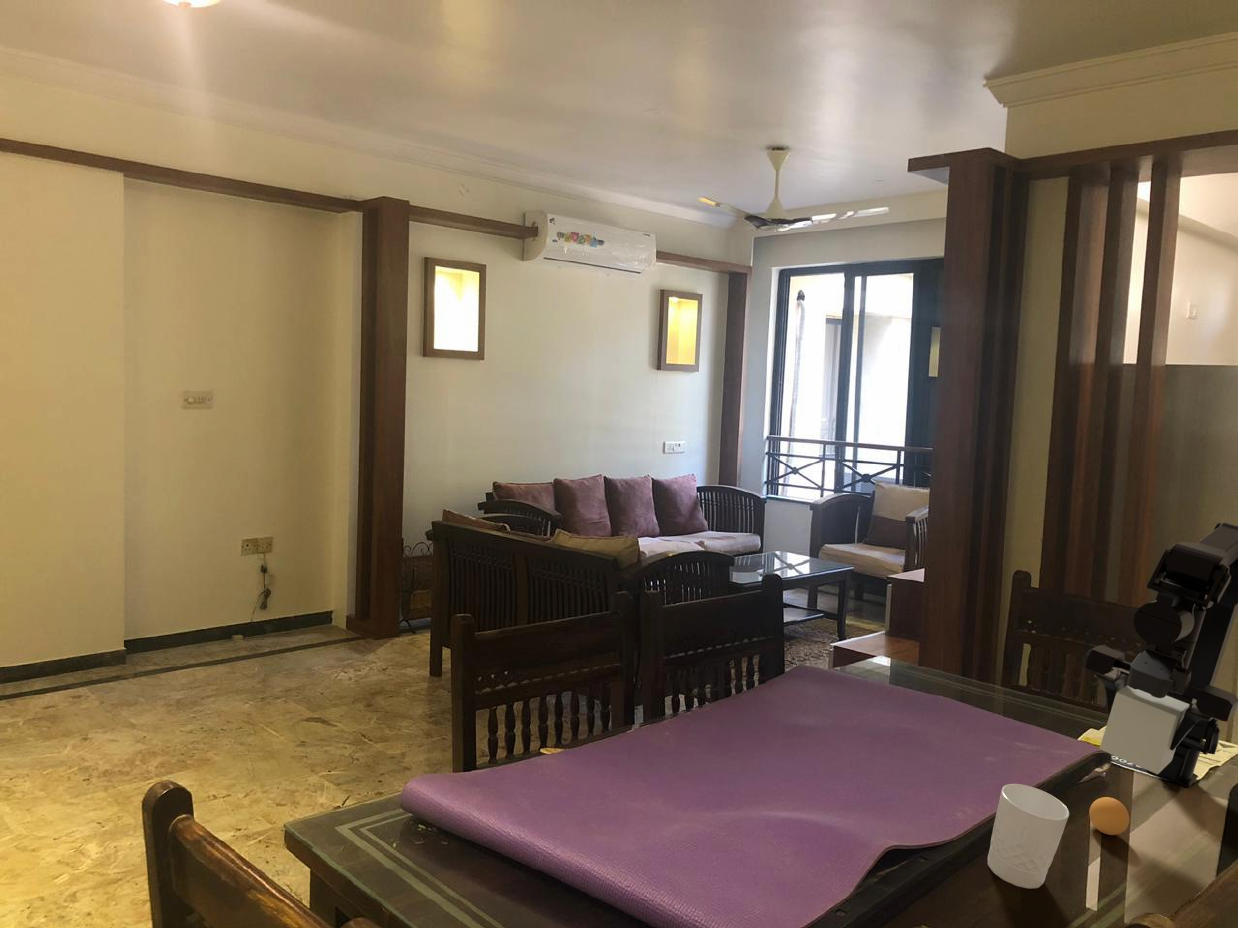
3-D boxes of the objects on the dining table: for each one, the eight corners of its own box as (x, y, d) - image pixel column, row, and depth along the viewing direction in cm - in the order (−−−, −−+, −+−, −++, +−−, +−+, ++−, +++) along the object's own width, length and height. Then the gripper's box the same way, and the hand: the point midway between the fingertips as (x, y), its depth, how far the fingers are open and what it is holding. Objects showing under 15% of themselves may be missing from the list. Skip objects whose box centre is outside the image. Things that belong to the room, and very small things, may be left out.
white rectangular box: (1115, 736, 141) (1132, 682, 139) (1171, 760, 136) (1189, 704, 134) (1099, 748, 135) (1116, 692, 134) (1157, 774, 130) (1176, 715, 129)
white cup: (1036, 860, 123) (1056, 791, 121) (1056, 898, 115) (1078, 825, 113) (975, 847, 124) (994, 778, 122) (991, 883, 116) (1012, 810, 114)
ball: (1094, 788, 133) (1081, 821, 133) (1132, 805, 130) (1118, 839, 129) (1100, 793, 137) (1086, 825, 136) (1137, 810, 134) (1123, 843, 133)
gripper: (1085, 617, 132) (1055, 719, 135) (1237, 671, 120) (1201, 782, 123) (1109, 607, 141) (1080, 704, 143) (1254, 657, 128) (1219, 761, 131)
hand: (1141, 736), depth 135 cm, fingers closed on white rectangular box, 8 cm apart
